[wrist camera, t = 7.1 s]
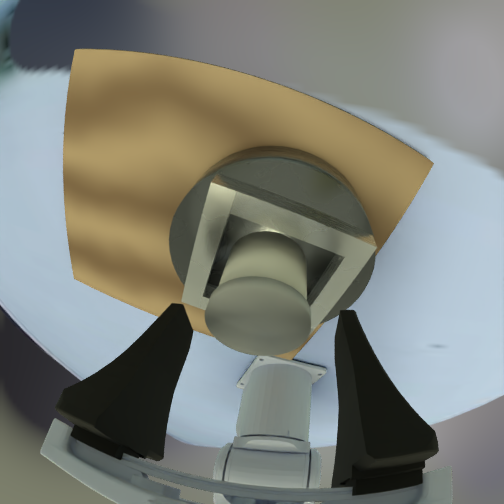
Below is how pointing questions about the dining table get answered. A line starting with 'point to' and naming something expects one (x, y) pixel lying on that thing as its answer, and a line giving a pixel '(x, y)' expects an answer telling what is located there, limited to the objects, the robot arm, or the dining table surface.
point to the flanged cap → (262, 297)
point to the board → (194, 161)
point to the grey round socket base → (275, 225)
